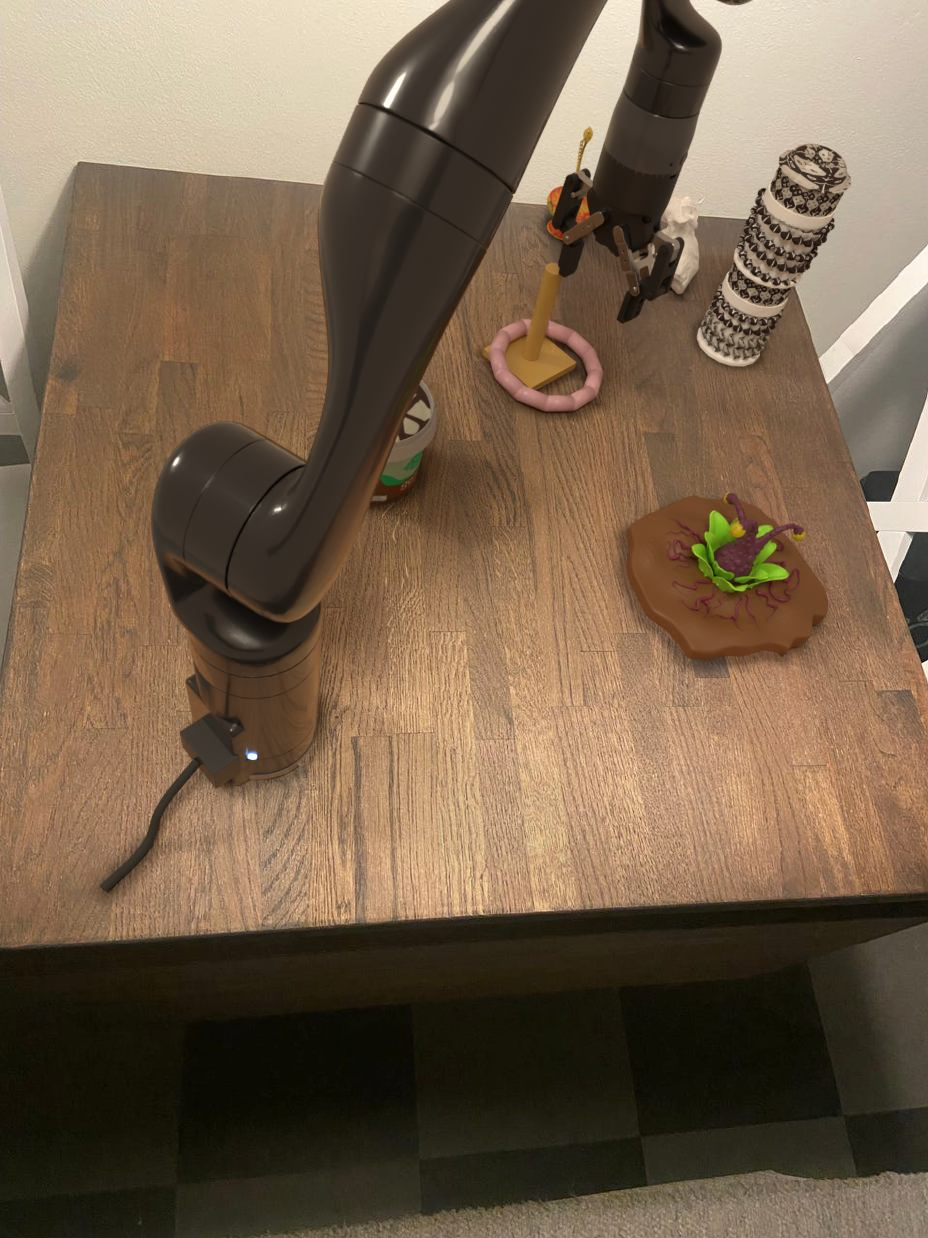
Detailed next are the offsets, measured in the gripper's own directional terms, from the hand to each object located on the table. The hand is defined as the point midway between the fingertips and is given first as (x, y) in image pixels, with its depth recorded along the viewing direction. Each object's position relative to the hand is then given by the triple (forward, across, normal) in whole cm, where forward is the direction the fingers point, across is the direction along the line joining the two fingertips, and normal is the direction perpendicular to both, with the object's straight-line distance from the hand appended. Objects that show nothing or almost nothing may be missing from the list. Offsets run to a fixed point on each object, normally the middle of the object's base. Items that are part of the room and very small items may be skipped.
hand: (595, 296), depth 96 cm
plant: (+14, +29, -7) cm, 33 cm away
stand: (+13, -6, 0) cm, 15 cm away
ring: (+12, -4, 0) cm, 12 cm away
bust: (+13, -8, +29) cm, 33 cm away
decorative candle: (+13, +6, +25) cm, 29 cm away
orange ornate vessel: (+13, -21, +22) cm, 33 cm away
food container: (+14, -1, -25) cm, 28 cm away
